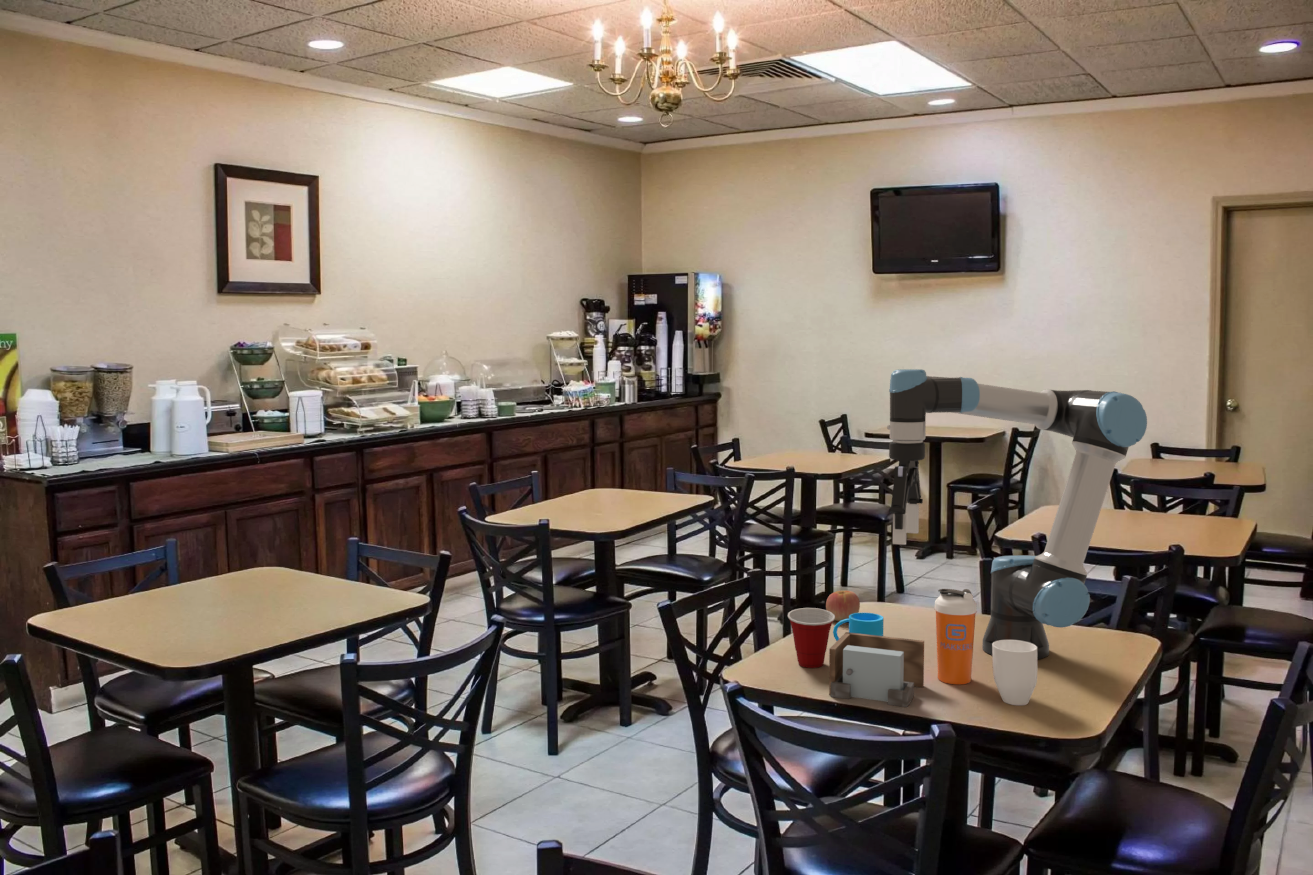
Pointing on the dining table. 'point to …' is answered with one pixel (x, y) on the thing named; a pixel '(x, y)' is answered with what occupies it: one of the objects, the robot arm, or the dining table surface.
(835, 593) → the apple
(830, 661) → the cabinet
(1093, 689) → the dining table surface
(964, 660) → the shaker bottle
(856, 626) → the mug
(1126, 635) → the dining table surface
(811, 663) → the plastic cup
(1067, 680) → the dining table surface
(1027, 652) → the mug
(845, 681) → the door
